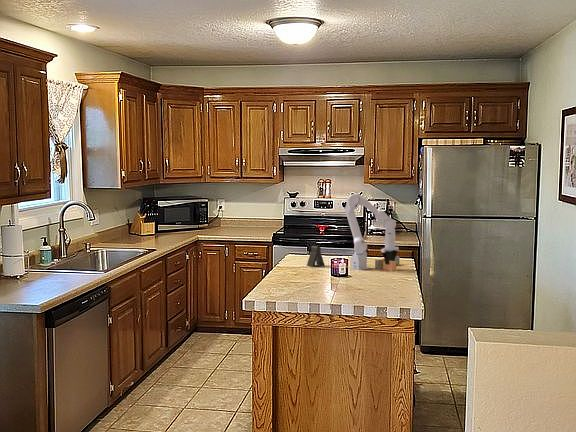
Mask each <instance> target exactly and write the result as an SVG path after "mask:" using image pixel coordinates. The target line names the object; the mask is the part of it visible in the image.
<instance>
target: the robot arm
mask: <svg viewBox="0 0 576 432" xmlns="http://www.w3.org/2000/svg"><path fill="white" fill-rule="evenodd" d="M358 206H362V207H364V208H366V209H367V210H368V211H370V212H371V213H372V214H373V215H374V218H375V219H376V220H377V221H378V222H379V223H380V224H381V225H382V226H383V225H384V228H385V233H384V234H385V236H384V247H383V248H380V253H381V254H382V257H383V259H384V260H385V264H389V262H390V261H395V257H397V256H398V253H399V251H400V249H399V246H396V226H397V223H396V221H395V219H393V218H392V217H391V216H389V215H388V214H386V211H385V210H378V208H376V207H375V206H374V205H373V204H372V203H371V202H370V201H369V200H368V199H367V198H365V197H364V196H362V195H361V194H360V193H352V194H350V195H349V196H348V197H347V199H346V203H345V208H344V211H345V214H346V217H347V221H348V225H349V228H350V231H351V234H352V238H353V245H354V247H353V249H354V254H352V255H351V257H350V267H349V269H350V270H355V271H363V270H369V269H371V268H370V267H368V266H367V265H368V262H367V261H368V252H367V250H368V243H366V241H365V240H364V237H363V235H362V232H361V229H360V226H359V222H358V220H357V217H356V212H355V209H356V208H357V207H358Z"/></svg>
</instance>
